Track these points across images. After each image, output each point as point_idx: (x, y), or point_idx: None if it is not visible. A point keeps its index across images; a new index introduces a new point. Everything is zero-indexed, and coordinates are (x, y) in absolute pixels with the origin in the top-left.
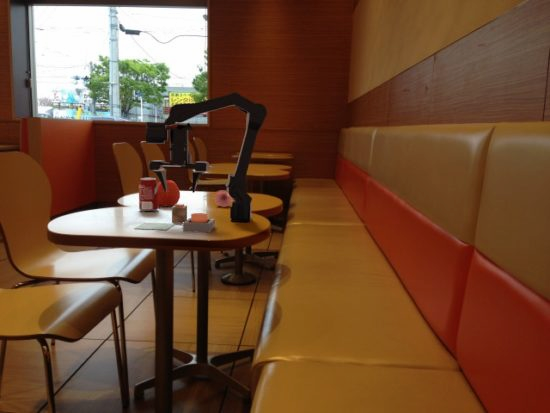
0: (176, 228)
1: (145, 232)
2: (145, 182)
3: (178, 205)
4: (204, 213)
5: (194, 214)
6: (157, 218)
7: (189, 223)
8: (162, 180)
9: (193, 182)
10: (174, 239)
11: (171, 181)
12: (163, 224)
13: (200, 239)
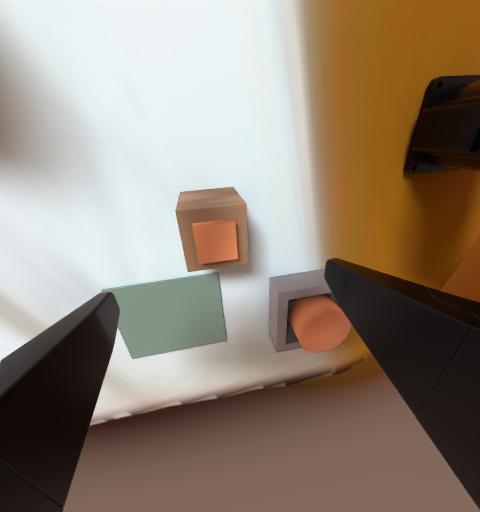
0: (242, 315)
1: (184, 370)
2: None
3: (218, 261)
4: (341, 315)
5: (310, 338)
6: (81, 184)
7: (292, 348)
8: (71, 447)
9: (385, 361)
10: (270, 386)
11: None
12: (185, 295)
13: (317, 370)
